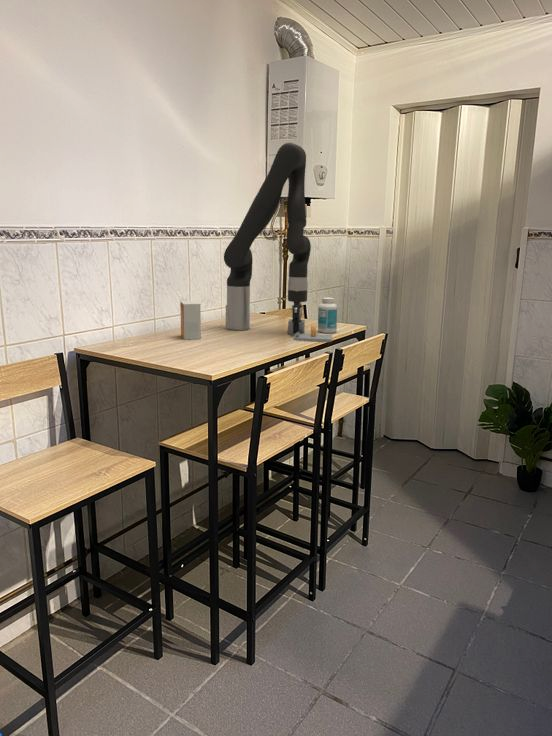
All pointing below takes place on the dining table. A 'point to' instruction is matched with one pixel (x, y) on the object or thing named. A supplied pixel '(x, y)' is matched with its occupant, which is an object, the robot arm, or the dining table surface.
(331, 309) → the pill bottle
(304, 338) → the keeper
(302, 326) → the grey block
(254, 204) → the robot arm
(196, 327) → the small box
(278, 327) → the dining table surface
